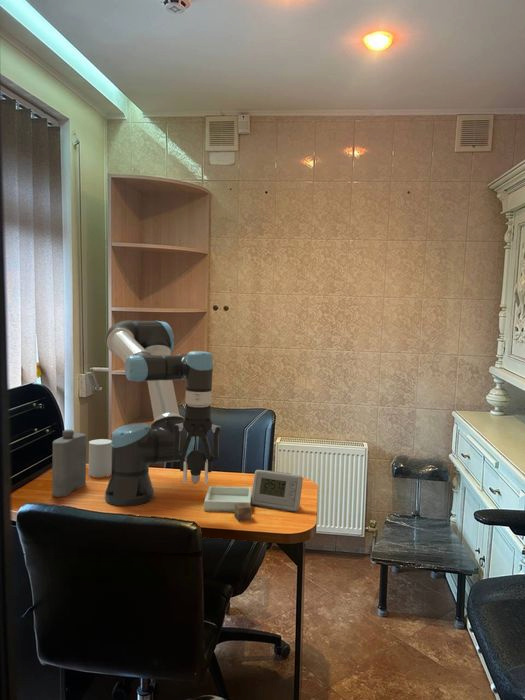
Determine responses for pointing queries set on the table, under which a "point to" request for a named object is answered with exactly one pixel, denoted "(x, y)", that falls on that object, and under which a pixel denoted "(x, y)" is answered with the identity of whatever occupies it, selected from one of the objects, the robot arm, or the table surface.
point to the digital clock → (276, 490)
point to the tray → (226, 498)
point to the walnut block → (243, 512)
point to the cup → (100, 457)
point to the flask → (68, 463)
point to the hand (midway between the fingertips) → (195, 482)
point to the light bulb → (196, 464)
